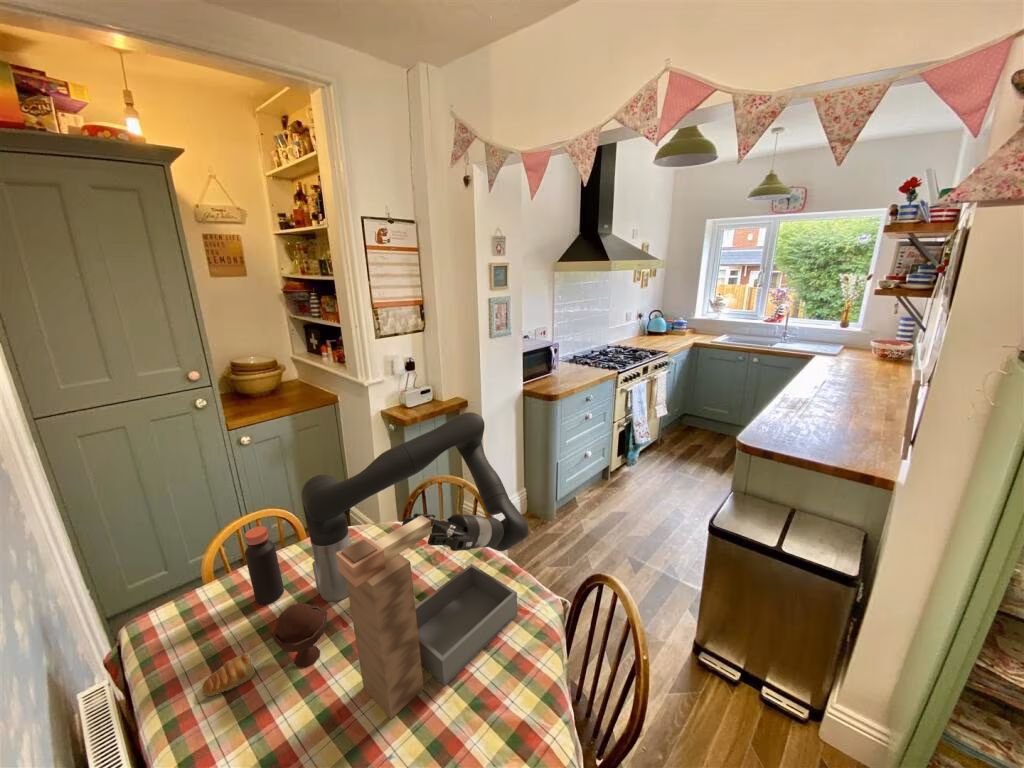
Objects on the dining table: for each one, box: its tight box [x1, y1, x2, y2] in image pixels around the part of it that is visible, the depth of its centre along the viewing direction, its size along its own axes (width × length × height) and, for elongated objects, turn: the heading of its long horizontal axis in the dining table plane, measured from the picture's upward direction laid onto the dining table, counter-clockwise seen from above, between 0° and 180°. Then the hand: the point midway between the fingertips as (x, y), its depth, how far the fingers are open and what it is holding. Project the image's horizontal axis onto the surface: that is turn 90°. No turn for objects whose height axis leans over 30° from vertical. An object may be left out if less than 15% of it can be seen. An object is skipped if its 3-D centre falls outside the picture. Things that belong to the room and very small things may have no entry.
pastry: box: [202, 652, 256, 697], centre depth 91 cm, size 9×7×4 cm
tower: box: [346, 553, 425, 720], centre depth 85 cm, size 8×10×32 cm
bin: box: [415, 563, 518, 687], centre depth 102 cm, size 24×16×7 cm, turn 140°
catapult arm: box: [335, 515, 432, 587], centre depth 82 cm, size 18×6×4 cm, turn 140°
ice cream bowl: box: [272, 602, 328, 669], centre depth 94 cm, size 11×11×15 cm
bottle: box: [244, 525, 285, 605], centre depth 112 cm, size 7×7×20 cm
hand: (416, 530), depth 86 cm, fingers open, 8 cm apart
